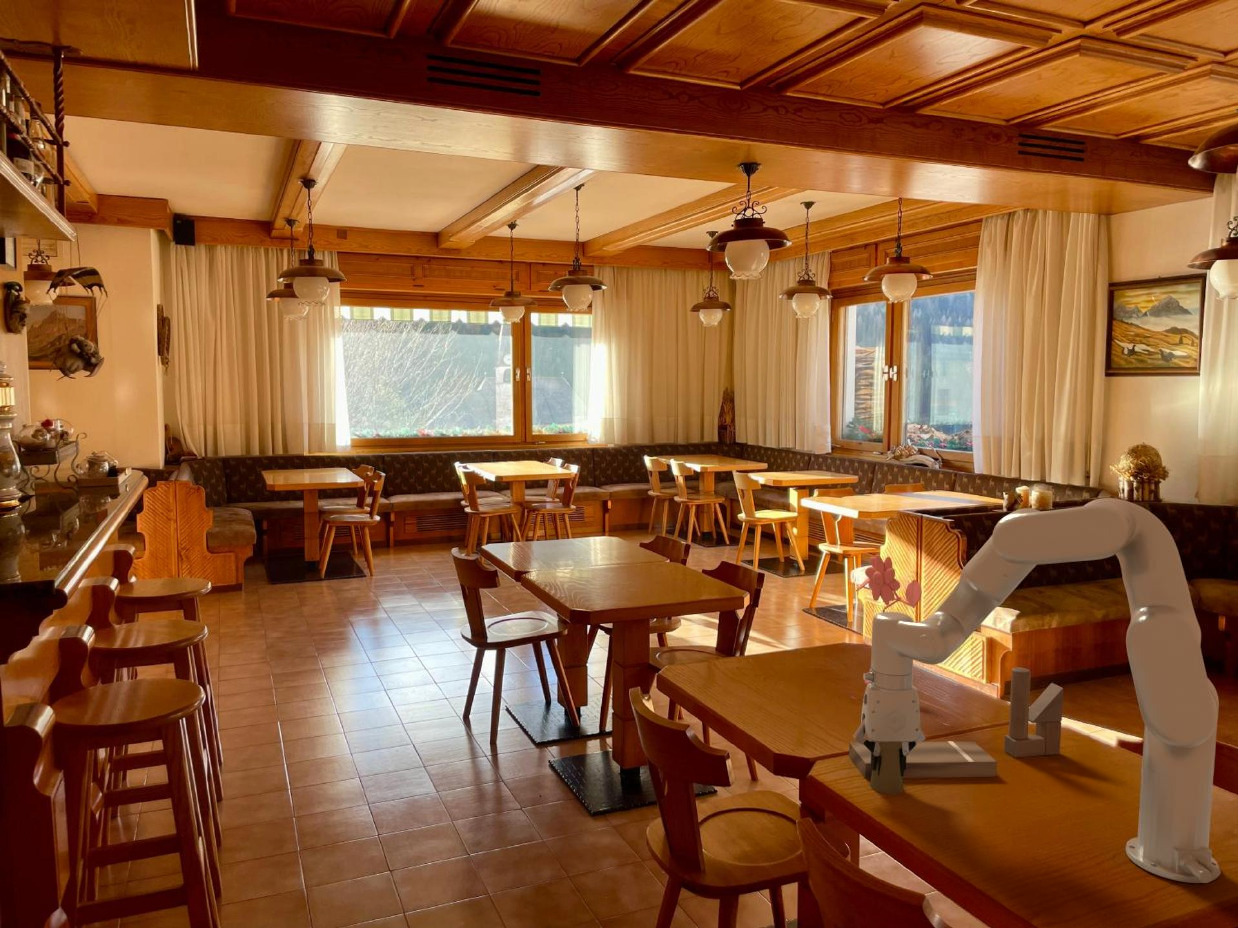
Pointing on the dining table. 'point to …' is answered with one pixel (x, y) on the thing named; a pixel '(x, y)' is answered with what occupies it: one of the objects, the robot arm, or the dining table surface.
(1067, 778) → the dining table surface
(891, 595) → the pink wire flower
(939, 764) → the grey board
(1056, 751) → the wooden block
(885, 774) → the olive green peg figure
